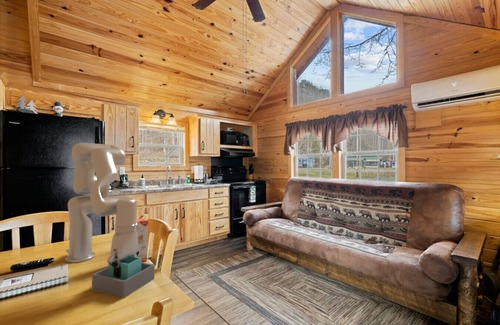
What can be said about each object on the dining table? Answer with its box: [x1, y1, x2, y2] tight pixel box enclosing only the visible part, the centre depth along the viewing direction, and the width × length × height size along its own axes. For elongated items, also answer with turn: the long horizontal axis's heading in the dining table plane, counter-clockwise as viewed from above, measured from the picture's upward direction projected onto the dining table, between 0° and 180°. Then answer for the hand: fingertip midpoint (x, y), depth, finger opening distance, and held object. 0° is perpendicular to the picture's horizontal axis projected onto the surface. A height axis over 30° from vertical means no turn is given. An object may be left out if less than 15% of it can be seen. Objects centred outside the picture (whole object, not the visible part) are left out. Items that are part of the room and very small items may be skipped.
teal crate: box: [108, 256, 142, 280], centre depth 99 cm, size 10×7×7 cm
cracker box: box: [114, 218, 149, 263], centre depth 119 cm, size 14×6×21 cm, turn 129°
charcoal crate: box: [91, 262, 156, 299], centre depth 99 cm, size 16×16×6 cm
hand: (125, 272), depth 99 cm, fingers closed on teal crate, 7 cm apart
